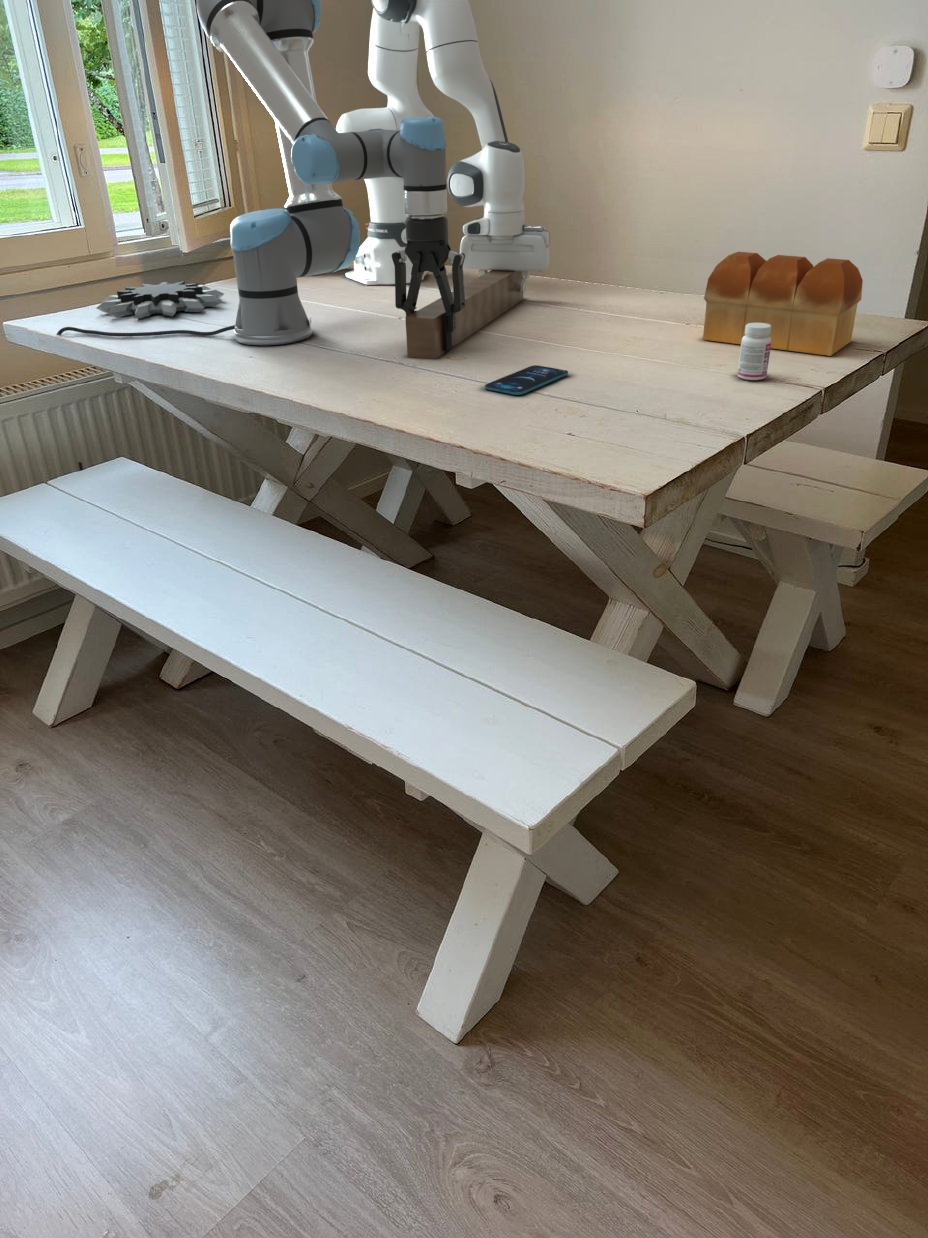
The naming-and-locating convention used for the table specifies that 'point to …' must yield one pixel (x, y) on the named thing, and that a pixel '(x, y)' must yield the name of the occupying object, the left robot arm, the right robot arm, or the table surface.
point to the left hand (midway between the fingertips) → (432, 347)
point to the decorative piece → (160, 299)
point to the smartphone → (526, 380)
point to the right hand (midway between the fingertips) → (504, 290)
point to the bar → (463, 313)
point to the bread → (784, 301)
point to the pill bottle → (755, 351)
